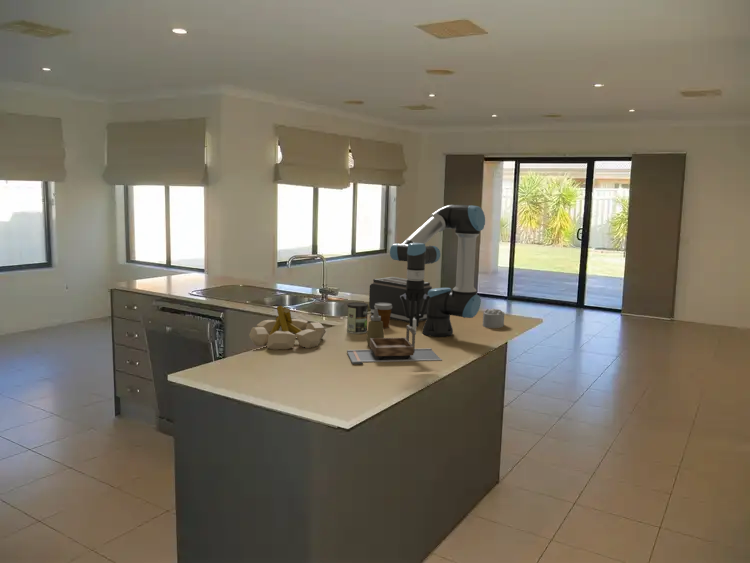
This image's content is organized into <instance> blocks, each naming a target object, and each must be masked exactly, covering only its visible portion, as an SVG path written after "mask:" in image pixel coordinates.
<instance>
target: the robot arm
mask: <svg viewBox="0 0 750 563" xmlns="http://www.w3.org/2000/svg"><path fill="white" fill-rule="evenodd" d="M485 216H486V215H485V212H484V211H483V209H482V208H481V207H480V206H478V205H472V204H471V205H469V204H468V205H467V204H448V205H447V204H446V205H445V206H443V207H440V208H438V209H437V210H435V211H433V212H432V213H431V214H430V215H429V216H428V217H427V220H426V221H425V222H424V223H422V225H421V226H419V227H418V228H417V229H416V230H415V231H414V232H413V233H411V234H410V235H409V236H408V237H406V239H404V241H402V242H401V243H399V242H398V243H397V242H396V243H393V244H392V245H391V246H390V248H389V255H390V258H391V259H392V260H393V261H398V262H406V263H407V264H406V266H407V267H406V279H408V280H407V283H406V291H405V294H403V295H400V298H401V300H402V303H403V308H404V313H405V316H406V317H407V318H409V323H408V325H409V326H410V327H411V328H412V329H413V330H414V331H415V336H416V335H417V327H419V325H420V322H419V319H420V318H423V316H424V312H425V308H426V305H427V318H426V320H424V323H423V324H424V325H423V327H422V334H423V335H425V336H429V337H435V338H442V337H443V338H446V337H451V336H452V335H454V334H453V333H454V330H453V326H452V323H451V316H453V317H454V316H455V317H462V318H464V319H465V318H467V319H468V318H469V319H472V318H474V317H476V315H477V314H478V313H479V310H480V308H481V305H482V304H481V303H482V299H481V296H480V295H478V294H477V292H478V290H477V288H475V286H474V285H475V269H476V268H475V266H476V251H477V250H476V249H477V237H479V235H480V232H481V231H483V230H484V228H485V225H486V217H485ZM446 229H447V230H448V229H452V230H455V231H454V233H455V235H456V236H457V255H456V276H455V286H454V287H453V288H451V287H435V288H432V289H430V290H429V291H428V295H426V294H425V291H424V282H425V280H424V279H425V274H426V273H425V268H426V265H430V264H435V263H437V262H438V261H439V260H440V258H441V251H440V249H439V247H438V246H436V245H426V244H427V243H428V242H429V241H430V240H432V238H433V237H435V235H437V234H438V233H441V232H443V231H444V230H446ZM406 296H407V297H408V299H409V300H410V301H409V302H410V308H409V313H408V308H407V304H406V300H405V299H406ZM423 296H424V297H423ZM422 297H423V298H424V300H423V303H422V307H421V310H420V314H419V307H420V300H421V299H422ZM414 301H415V318H413V310H414Z"/></svg>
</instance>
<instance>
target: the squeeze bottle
mask: <svg viewBox="0 0 750 563" xmlns="http://www.w3.org/2000/svg"><path fill="white" fill-rule="evenodd" d="M380 320H381V316H379V315H378V309H377V308H375V310H374V314H373V315H371V316H370V320H369V321H368V322H367V332H366V342H367V346H369V347H370V338H385V334H384V328H383V322H382V321H380Z"/></svg>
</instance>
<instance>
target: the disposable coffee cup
mask: <svg viewBox="0 0 750 563" xmlns="http://www.w3.org/2000/svg"><path fill="white" fill-rule="evenodd" d="M374 307H375V308H377V309H378V315H379V316H381V320H380V321H382V322H383V329H387V328H389V327H390V320H391V319H390V315H391V309H392V304H390V303H376V304H375V306H374Z"/></svg>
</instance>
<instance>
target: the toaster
mask: <svg viewBox="0 0 750 563" xmlns="http://www.w3.org/2000/svg"><path fill="white" fill-rule="evenodd" d="M407 280H408V279H407V278H402V277H397V276H389V277H388V276H387V277H381V278H374V279H373V280H372V281H373V282H372V283H370V285H369V291H368V292H369V294H368V295H369V299H368V302H369V303H368V307H369V309H370V315H371V314H374V310H375V307H374V306H375V304H376V303H390V304H392V309H391V315H390V320H393V321H399V322H403V323H408V324H409V318H407V317H406V316H405V313H404V308H403V303H402V300H401V298H400V295H403V294H405V291H406V283H407ZM430 289H433V286H431V282H427V281H424V291H425V294H426V295H428V291H429V290H430ZM423 297H424V296H423ZM423 297H422V299H421V300H420V307H419V314H420V310H421V307H422V303H423V300H424V298H423ZM405 300H406V304H407V308H408V313H409V308H410V302H409V301H410V300H409V299H408V297H407V296H406V299H405ZM413 318H415V301H414V310H413ZM426 318H427V305H426V308H425V312H424V316H423V318H420V319H419V323H420V322H423V321H424V322H425V321H426Z"/></svg>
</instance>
